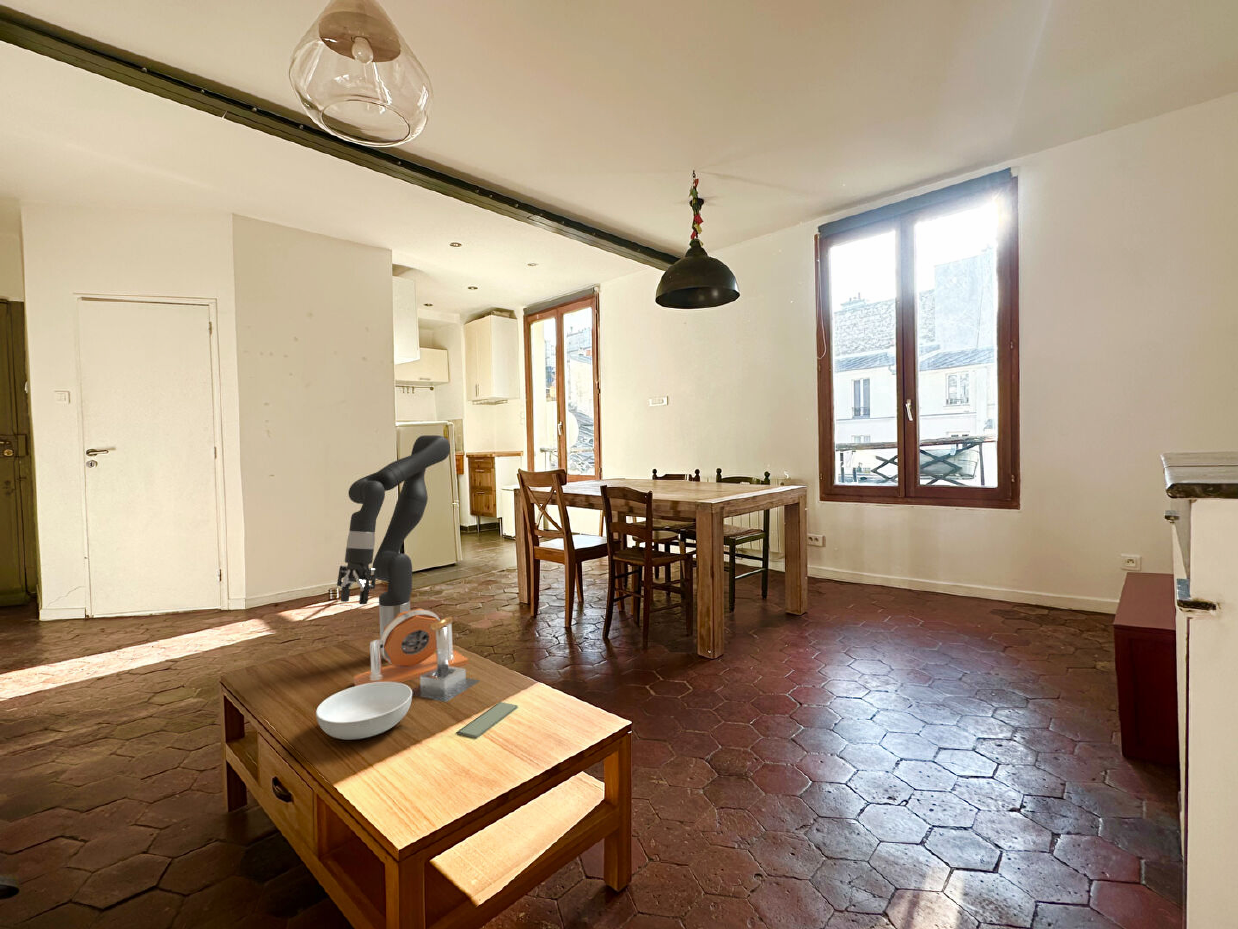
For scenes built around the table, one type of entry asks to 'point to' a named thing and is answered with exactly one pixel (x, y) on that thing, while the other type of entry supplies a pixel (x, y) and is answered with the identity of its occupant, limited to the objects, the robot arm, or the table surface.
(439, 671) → the cylinder
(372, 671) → the desk clock
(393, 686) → the serving bowl
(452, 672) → the chuck block
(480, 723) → the rubber mat
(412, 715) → the table surface
